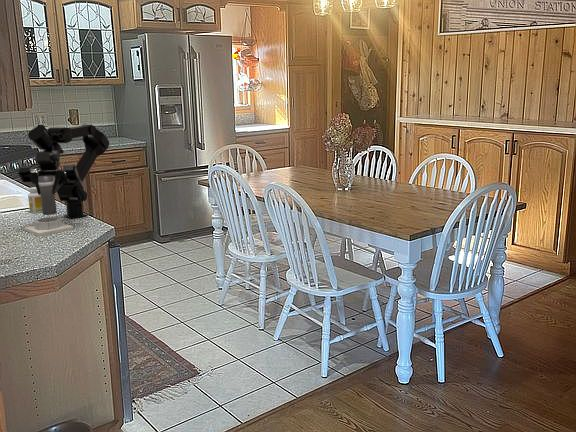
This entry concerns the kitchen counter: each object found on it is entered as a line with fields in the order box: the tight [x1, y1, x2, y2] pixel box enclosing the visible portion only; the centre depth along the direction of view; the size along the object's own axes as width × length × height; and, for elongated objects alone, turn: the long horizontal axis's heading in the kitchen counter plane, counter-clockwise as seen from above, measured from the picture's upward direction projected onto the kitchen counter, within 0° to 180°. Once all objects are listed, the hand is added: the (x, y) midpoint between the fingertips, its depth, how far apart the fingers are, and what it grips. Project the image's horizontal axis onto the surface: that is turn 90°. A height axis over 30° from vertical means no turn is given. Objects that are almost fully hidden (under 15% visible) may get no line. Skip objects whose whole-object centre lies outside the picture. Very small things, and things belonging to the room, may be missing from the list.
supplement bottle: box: [27, 186, 43, 214], centre depth 232 cm, size 5×5×10 cm
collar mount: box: [23, 216, 74, 237], centre depth 203 cm, size 12×12×4 cm
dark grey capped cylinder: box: [38, 175, 57, 216], centre depth 200 cm, size 5×5×13 cm
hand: (46, 193), depth 199 cm, fingers closed on dark grey capped cylinder, 4 cm apart
